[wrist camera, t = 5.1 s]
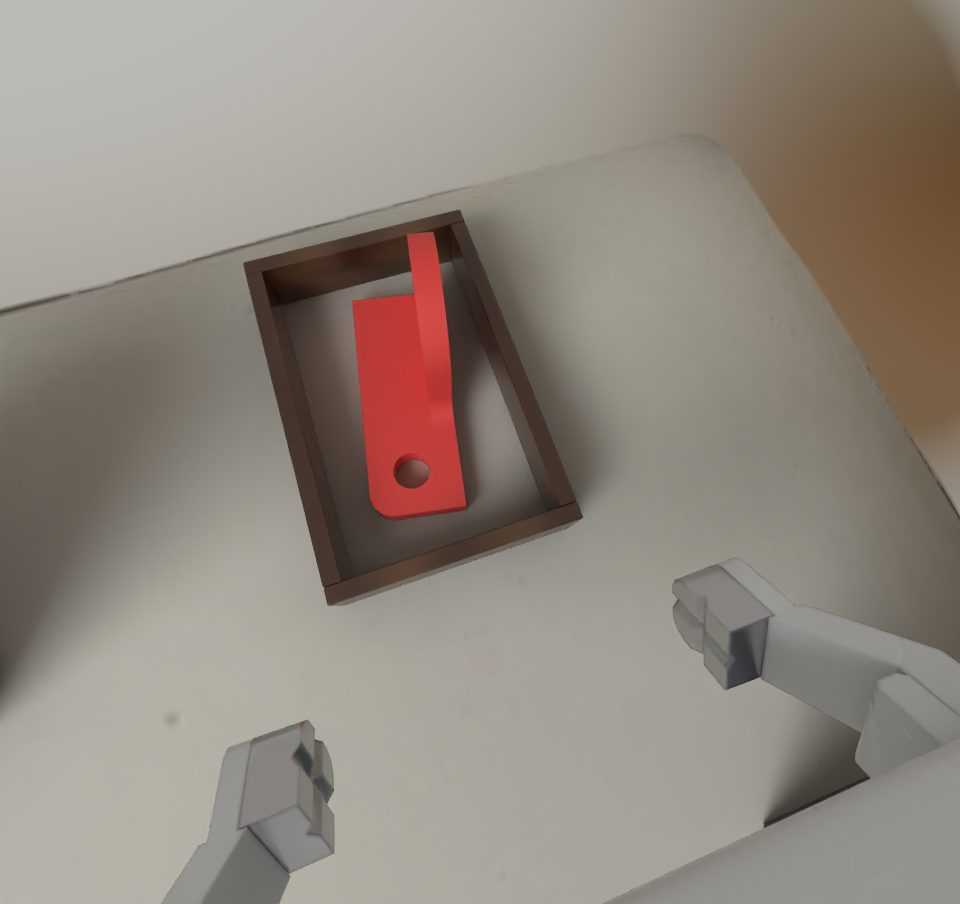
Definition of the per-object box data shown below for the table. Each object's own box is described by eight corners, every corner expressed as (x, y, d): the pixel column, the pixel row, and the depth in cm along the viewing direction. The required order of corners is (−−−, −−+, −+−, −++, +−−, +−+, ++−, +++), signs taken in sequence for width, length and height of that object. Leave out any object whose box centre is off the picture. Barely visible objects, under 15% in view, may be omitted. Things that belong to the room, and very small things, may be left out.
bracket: (356, 312, 28) (319, 205, 21) (436, 304, 28) (428, 195, 21) (375, 522, 25) (339, 487, 17) (466, 509, 25) (470, 469, 18)
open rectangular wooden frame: (459, 246, 30) (459, 208, 27) (569, 527, 25) (583, 517, 22) (264, 296, 28) (242, 262, 25) (343, 605, 24) (327, 606, 21)
